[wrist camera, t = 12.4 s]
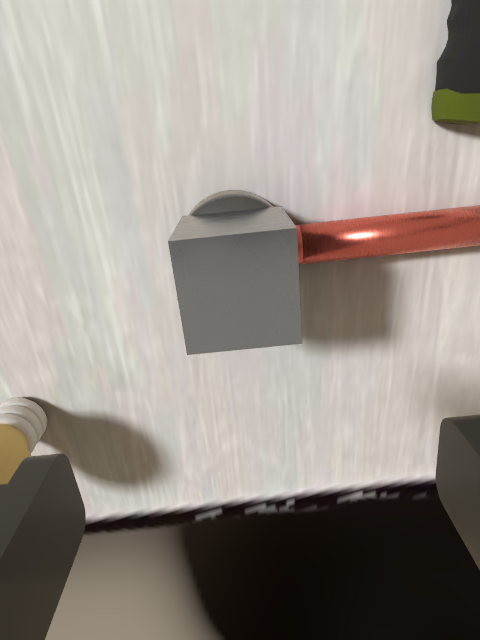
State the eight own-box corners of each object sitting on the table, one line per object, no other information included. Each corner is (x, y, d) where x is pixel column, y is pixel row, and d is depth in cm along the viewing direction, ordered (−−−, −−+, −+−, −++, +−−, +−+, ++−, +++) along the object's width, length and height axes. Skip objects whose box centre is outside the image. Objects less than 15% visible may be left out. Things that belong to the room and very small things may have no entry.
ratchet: (546, 155, 26) (661, 163, 19) (528, 267, 29) (621, 310, 22) (171, 196, 26) (151, 219, 20) (188, 302, 29) (176, 355, 22)
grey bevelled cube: (281, 206, 24) (296, 227, 18) (287, 299, 26) (302, 343, 20) (182, 216, 24) (168, 241, 18) (196, 308, 26) (187, 354, 21)
